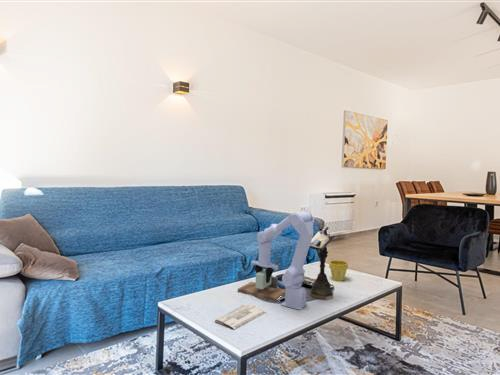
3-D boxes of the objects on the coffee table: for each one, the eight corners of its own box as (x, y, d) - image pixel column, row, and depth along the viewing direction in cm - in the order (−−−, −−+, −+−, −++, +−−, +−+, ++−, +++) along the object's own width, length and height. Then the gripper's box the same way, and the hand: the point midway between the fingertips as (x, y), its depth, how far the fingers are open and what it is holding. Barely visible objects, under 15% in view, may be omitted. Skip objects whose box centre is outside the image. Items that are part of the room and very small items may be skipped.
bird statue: (316, 305, 167) (319, 230, 164) (297, 296, 178) (299, 226, 175) (340, 298, 176) (343, 227, 174) (321, 289, 187) (324, 223, 184)
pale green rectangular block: (271, 283, 183) (271, 270, 182) (262, 289, 175) (262, 275, 174) (264, 282, 185) (264, 269, 184) (255, 287, 177) (255, 273, 177)
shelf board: (288, 293, 182) (288, 279, 181) (276, 301, 171) (276, 286, 170) (251, 284, 193) (251, 271, 193) (237, 291, 182) (238, 278, 182)
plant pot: (325, 277, 208) (325, 260, 207) (341, 275, 211) (341, 259, 210) (334, 282, 198) (335, 265, 198) (350, 281, 201) (351, 264, 201)
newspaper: (244, 306, 166) (245, 301, 165) (266, 316, 158) (266, 311, 158) (209, 322, 148) (210, 316, 148) (232, 335, 140) (232, 329, 140)
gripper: (281, 255, 179) (280, 282, 180) (256, 250, 186) (255, 276, 187) (274, 258, 173) (273, 286, 174) (249, 253, 180) (248, 280, 181)
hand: (263, 281), depth 180 cm, fingers closed on pale green rectangular block, 4 cm apart
